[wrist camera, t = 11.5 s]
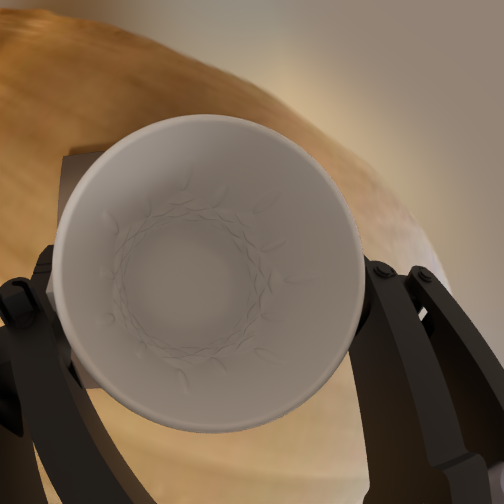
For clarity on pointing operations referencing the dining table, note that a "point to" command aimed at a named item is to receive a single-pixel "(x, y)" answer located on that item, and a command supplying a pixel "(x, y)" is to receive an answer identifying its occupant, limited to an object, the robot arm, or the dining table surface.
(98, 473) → the robot arm
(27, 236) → the dining table surface
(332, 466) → the dining table surface
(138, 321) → the white cup
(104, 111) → the dining table surface
